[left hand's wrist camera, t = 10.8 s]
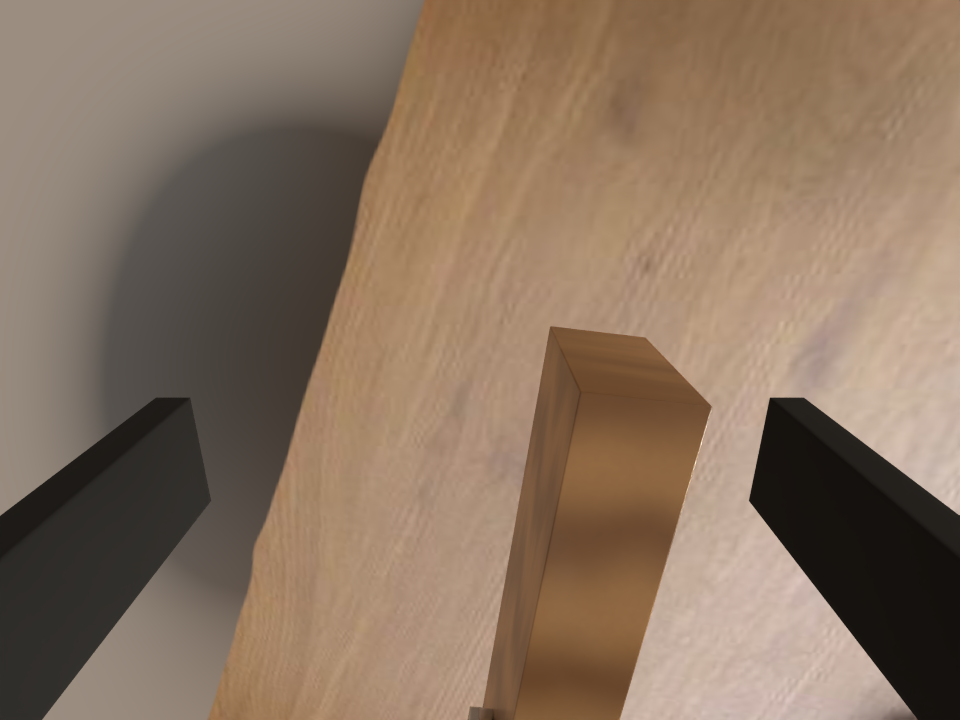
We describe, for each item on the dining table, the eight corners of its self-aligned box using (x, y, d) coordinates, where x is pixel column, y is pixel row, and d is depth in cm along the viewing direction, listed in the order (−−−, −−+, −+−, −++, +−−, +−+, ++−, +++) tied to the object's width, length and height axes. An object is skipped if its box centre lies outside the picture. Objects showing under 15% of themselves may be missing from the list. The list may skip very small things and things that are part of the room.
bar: (549, 326, 28) (580, 391, 20) (645, 337, 29) (713, 406, 21) (481, 711, 38) (484, 861, 30) (554, 717, 38) (576, 867, 30)
